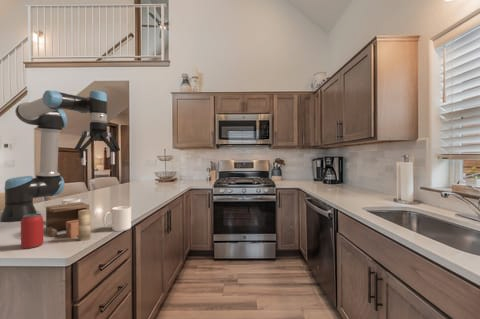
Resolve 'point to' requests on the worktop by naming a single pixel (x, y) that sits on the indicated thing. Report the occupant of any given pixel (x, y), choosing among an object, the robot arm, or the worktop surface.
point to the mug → (70, 201)
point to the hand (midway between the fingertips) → (98, 164)
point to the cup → (119, 218)
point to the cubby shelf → (62, 216)
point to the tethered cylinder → (79, 226)
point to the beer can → (31, 231)
